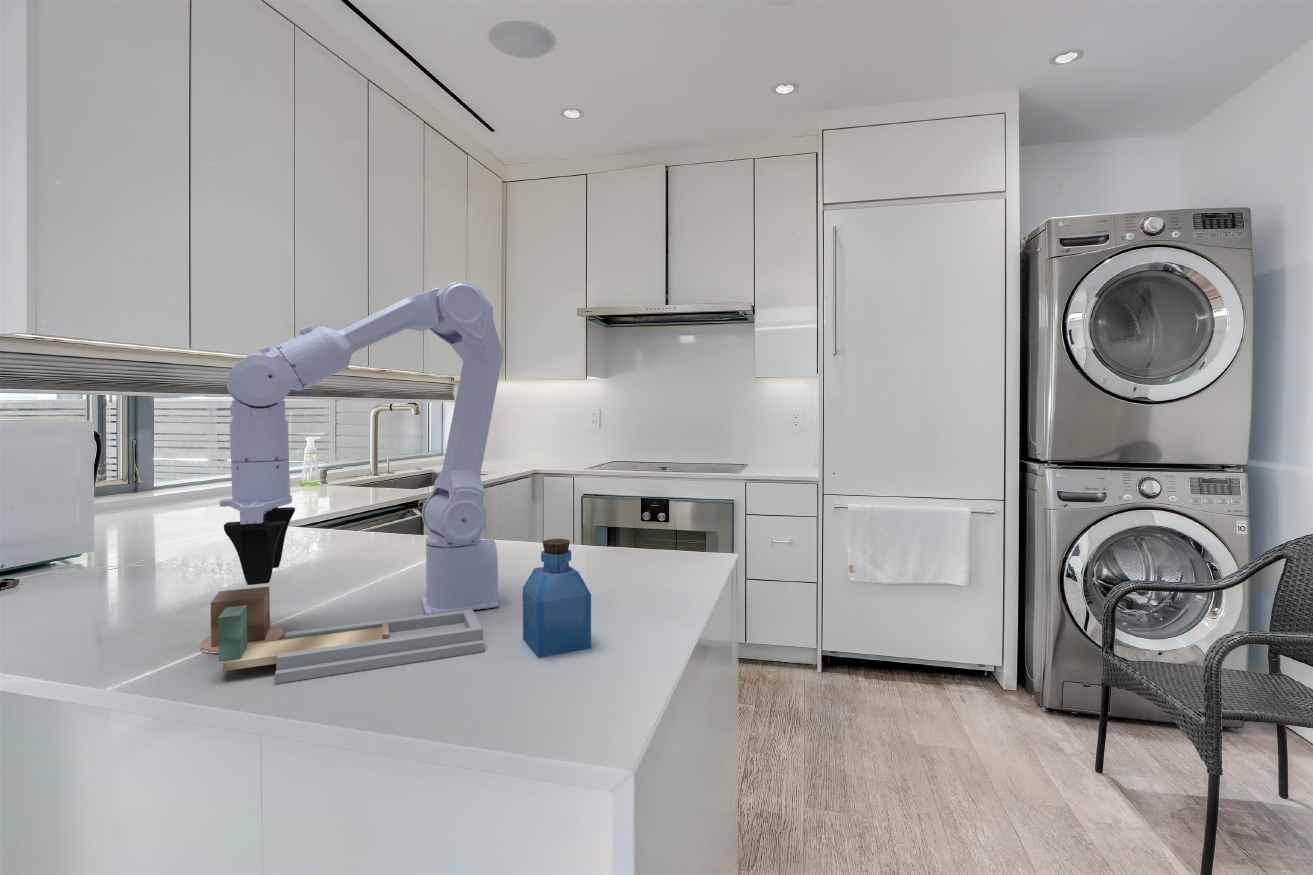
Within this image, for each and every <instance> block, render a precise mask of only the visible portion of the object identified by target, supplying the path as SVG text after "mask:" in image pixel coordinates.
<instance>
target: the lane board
mask: <svg viewBox="0 0 1313 875" xmlns="http://www.w3.org/2000/svg"><path fill="white" fill-rule="evenodd" d="M382 622H388V631H389V639H382V640H375V641H368V642H361V643H353V644H346V645H339V646H332V647H324V648H317V649H310V650H303V651H295V652H288V653H281V654H278V655H277V657H276V664H275V665H276V668H275V669H276V670H275V673H274V684H275V685H276V684H284V683H290V682H296V681H297V682H298V681H302V680H308V679H310V680H311V679H316V678H322V677H330V676H335V675H341V674H347V673H354V672H361V671H367V670H373V669H380V668H386V667H392V666H394V667H395V666H399V665H405V664H407V665H408V664H413V663H418V662H424V661H433V660H437V659H444V658H445V659H446V658H452V657H458V656H463V655H465V656H466V655H469V654H477V653H482V652H483V653H484V652H485V641H484V630H483V629H484V628H483V627H482V625H481V623H480V621H479V619H478V618H477V615H476V613H475V612H474V610H472V609H469V610H461V611H453V612H445V613H437V614H429V615H426V614H423V615H414V616H407V617H399V618H390V619H383V620H375V621H367V622H359V623H351V624H342V625H335V626H326V627H318V628H310V629H309V628H308V629H304V630H295V631H287V632H285V635H284V640H287V639H295V638H302V637H310V636H318V635H325V634H333V633H341V632H348V631H356V630H364V629H372V628H379V627H382Z"/></svg>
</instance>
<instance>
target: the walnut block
mask: <svg viewBox="0 0 1313 875" xmlns="http://www.w3.org/2000/svg"><path fill="white" fill-rule="evenodd" d="M270 598H271V596H270V586H259V587H250V588H242V589H241V588H239V589H232V590H220V591H218V592H217V594H216V595H215V597H214V598H213V599H212V600H211V602H210V636H211V647H218V646H219V637H218V617H219V616H220V615H221V613H222V612H223V611H224V609H225V608H226V607H234V606H244V605H247V643H248V642H255V641H263V640H265V638H266V635H267V633H268V631H269V628H270V625H271V611H270V610H271V606H270V604H271V603H270V602H271V601H270Z"/></svg>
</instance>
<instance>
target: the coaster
mask: <svg viewBox="0 0 1313 875" xmlns="http://www.w3.org/2000/svg"><path fill="white" fill-rule="evenodd" d="M284 632H285V631H284V629H283V628H282V627H281V626H278V625H273V624H272V625H271V624H270V628H269V631H268V633H267V635H266V638H265V640H263V641H255V642H248V643H247V645H248V644H256V643H264V642H271V641H277V640H278V639H280V638H281V637H282V636H283V637H284V635H283V633H284ZM283 637H282V638H283ZM282 638H281V639H282ZM281 639H280V640H281ZM278 641H279V640H278ZM201 649H202V650H204V651H208V652H217V653H218V652H219V646H218V647H211V635H209V636H207V637H206V638H204V639H203V640H201V641H200V650H201ZM202 650H201V651H202Z"/></svg>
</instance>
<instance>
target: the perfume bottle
mask: <svg viewBox="0 0 1313 875" xmlns="http://www.w3.org/2000/svg"><path fill="white" fill-rule="evenodd" d="M541 543H542V546H543V550H542V551H541V552H540V561H541V562H542V563H543V566H541V567H534V568H533V570H532V572H531V573H530V575H529V577H528V579H527V580H526V581H525V582H524V583H525V584H524V585H523V587H522V641H524V643H525V644H526V646H528V648H529V649H530V650H531V652H532V654H534V655H535V656H536V657H537V659H539V658H544V657H545V658H546V657H550V656H556V655H562V654H568V653H572V652H578V651H583V650H589V649H592V594H591V592H590V591H589V588H588V586H587V584H586V583H585V581H584V579H583V577H582V576H581V574H580V572H579V571H578V570H576V569H575V568H574V567H572V566H570V562H571V561H572V551H571V550H570V549H569V548H570V544H571V540H570V539H566V538H550V539H544V540H542V542H541Z"/></svg>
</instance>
